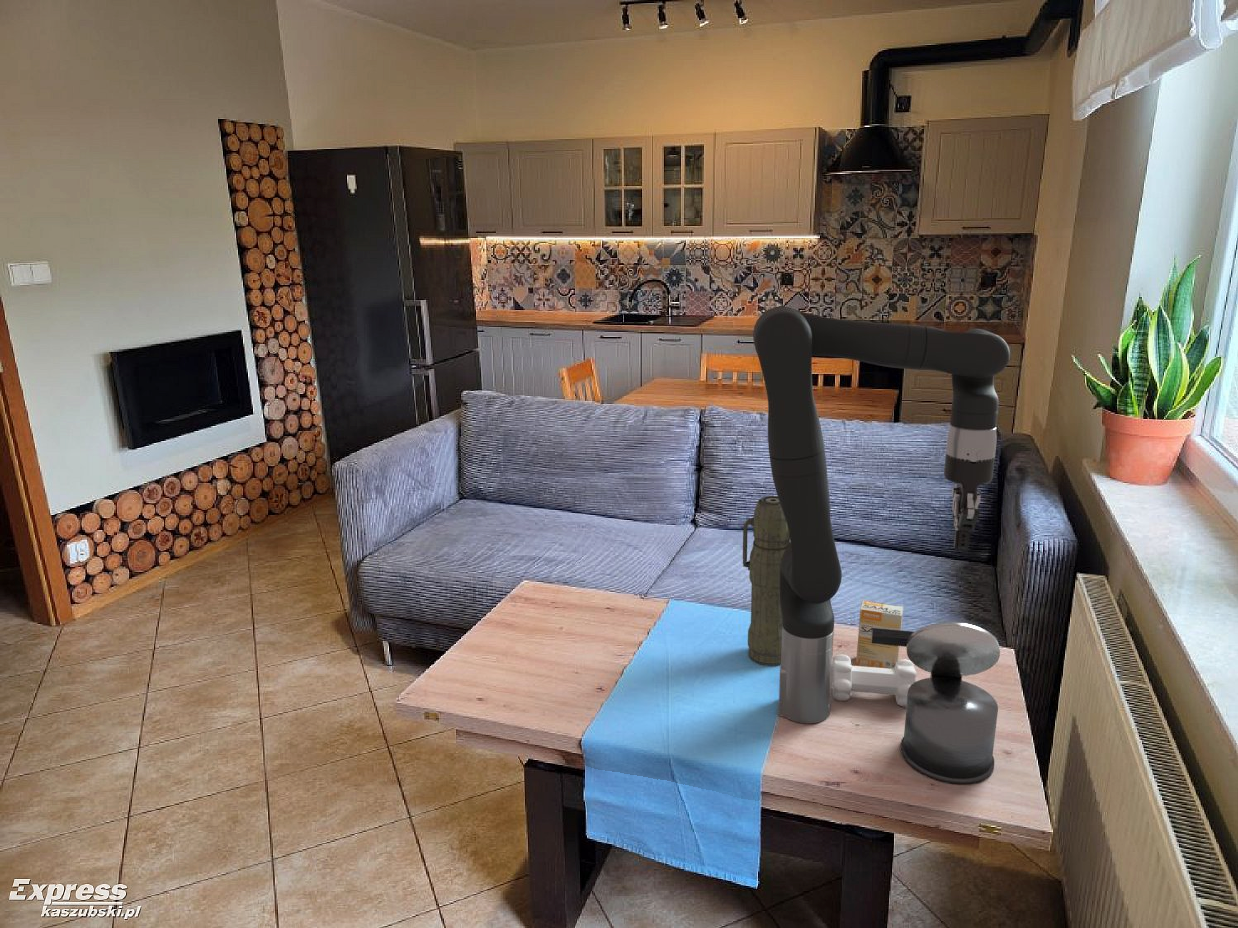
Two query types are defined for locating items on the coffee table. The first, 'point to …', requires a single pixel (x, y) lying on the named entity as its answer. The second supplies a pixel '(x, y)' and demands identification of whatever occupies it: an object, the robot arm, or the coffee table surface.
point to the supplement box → (871, 618)
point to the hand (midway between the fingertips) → (960, 549)
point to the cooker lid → (945, 648)
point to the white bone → (872, 679)
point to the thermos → (766, 580)
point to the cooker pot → (950, 730)
